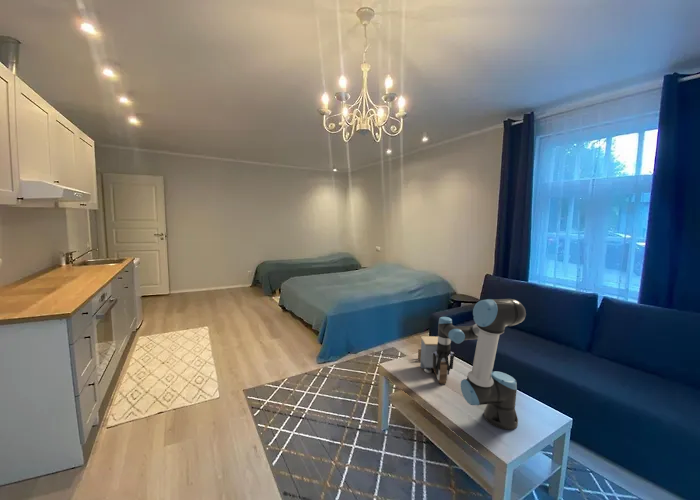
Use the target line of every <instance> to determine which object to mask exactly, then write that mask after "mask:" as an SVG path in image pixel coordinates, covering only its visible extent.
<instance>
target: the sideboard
mask: <svg viewBox="0 0 700 500" xmlns="http://www.w3.org/2000/svg"><path fill="white" fill-rule="evenodd" d="M420 339H421V345H420V349H421V361H419V362H420V365H419V366H420V369H424V368H431V369H432V368H434V367H433V354H432V352H436V350H437V344H438V336H434V335H433V336H432V335H431V336H430V335H429V336H426V335H425V336H423V335H422V336H420ZM437 360H438V354H437V355H436V364H437ZM441 362H445V358H442V360H441Z"/></svg>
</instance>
